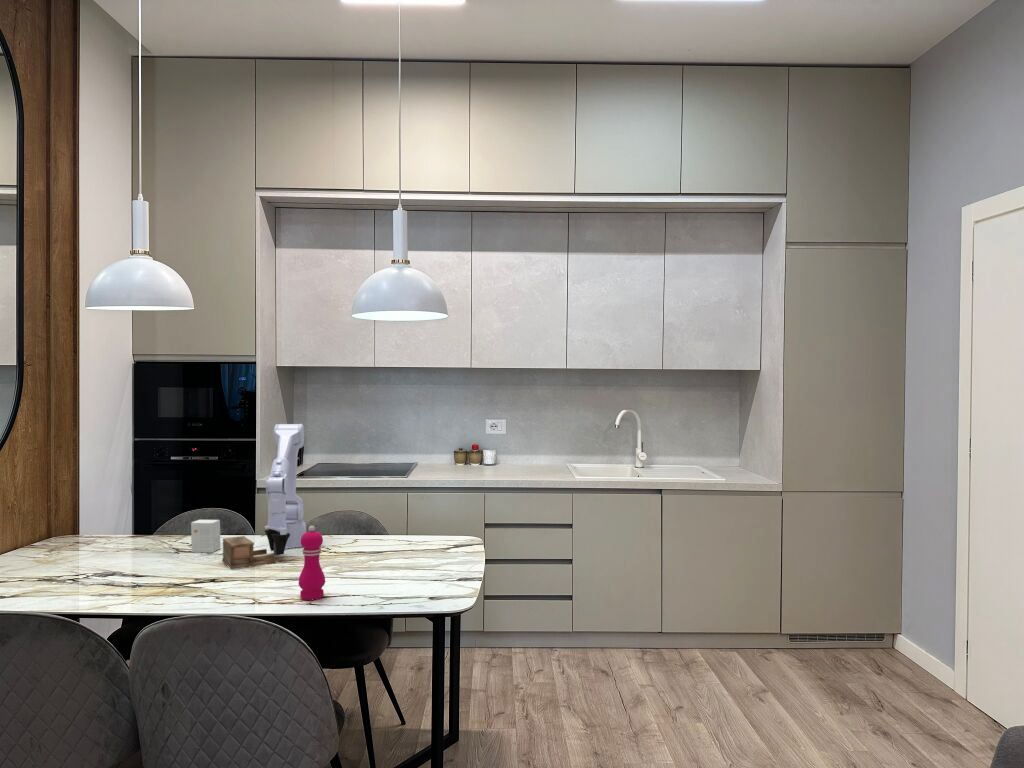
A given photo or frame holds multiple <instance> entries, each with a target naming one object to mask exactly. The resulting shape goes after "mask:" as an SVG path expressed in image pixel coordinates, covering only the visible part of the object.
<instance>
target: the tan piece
mask: <svg viewBox="0 0 1024 768" xmlns="http://www.w3.org/2000/svg"><path fill="white" fill-rule="evenodd" d="M273 554H274V555H275V557H276V556H277V557H278V555H277V553H276V547H275V542H274V551H273V552H272V553H267V554H263V555H256V556H254V557H258V556H265V555H273ZM243 558H250V545H247V546H239V547H234V560H236V559H243Z"/></svg>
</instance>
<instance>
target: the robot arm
mask: <svg viewBox="0 0 1024 768" xmlns="http://www.w3.org/2000/svg"><path fill="white" fill-rule="evenodd" d="M273 438H274V440H275V443H276V445H277V454H276V455H277V456H276V458H274V460H273V461H272V464H271V465H272V466H271V469H270V474H269V477H267V478H266V481H265V493H266V500H267V511H268V512H267V525H265V526H264V529H265V530H264V533H265V535H266V537H267V540H268V545H269V549H270V552H274V542H275V547H276V553H277V556H281V555H285V550H287V549H288V548H289V549H294V548H295V547H296V548H302V547H301V546H302V545H301V537H302V535H303V534H304V533H306V532H307V525H306V521H304V520H303V517H304V513H305V512H304V511H305V510H304V500H303V498H302V497H300V496H299V495H297V471H298V454H299V450H300V449H301V448H303V447H304V444H305V426H304V424H303V423H292V424H291V423H287V424H286V423H276V424H275V426H274V428H273ZM296 548H295V549H296Z"/></svg>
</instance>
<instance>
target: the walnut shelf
mask: <svg viewBox="0 0 1024 768" xmlns="http://www.w3.org/2000/svg"><path fill="white" fill-rule="evenodd" d="M247 545H250V558H243V559H236V560H234V547H239V546H247ZM254 545H255V542H254V541H252V540H251V539H249V538H247V537H246V536H245V535H242V536H241V535H240V536H235V537H234V536H232V537H227V538H226V537H225V538H222V561H223V562H224V564H225V565H226V566H227V565H228V566H229V567H230V569H231V570H234V569H233V568H238V569H242V568H241V567H245V568H250V567H249V566H252V567H256V566H257V565H259V566H265V564H266V565H272V563H273V564H276V562H277V560H276V555H274V554H273V555H265V556H258V557H254V556H256V555H263V554H268V553H267V552H268V550H267V549H266V548H263V549H255V550H254ZM223 562H222V563H223ZM228 566H227V567H228ZM229 567H228V568H229ZM257 567H258V566H257Z"/></svg>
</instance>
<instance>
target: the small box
mask: <svg viewBox="0 0 1024 768" xmlns="http://www.w3.org/2000/svg"><path fill="white" fill-rule="evenodd" d="M190 525H191V526H190V528H191V529H190V530H191V531H190V534H191V537H190V538H191V539H190V540H191V553H207V552H213V553H215V552H217V551H219V550H221V520H220V519H197V520H194V521H192V522H191V523H190ZM218 549H219V550H218ZM216 550H217V551H216ZM214 551H215V552H214Z"/></svg>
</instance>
